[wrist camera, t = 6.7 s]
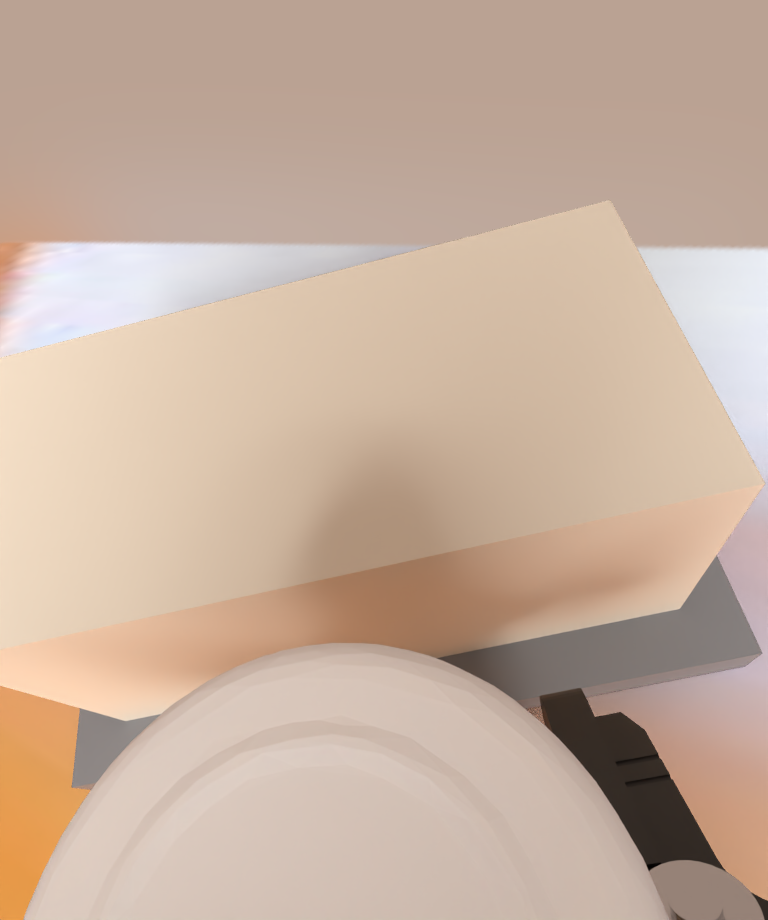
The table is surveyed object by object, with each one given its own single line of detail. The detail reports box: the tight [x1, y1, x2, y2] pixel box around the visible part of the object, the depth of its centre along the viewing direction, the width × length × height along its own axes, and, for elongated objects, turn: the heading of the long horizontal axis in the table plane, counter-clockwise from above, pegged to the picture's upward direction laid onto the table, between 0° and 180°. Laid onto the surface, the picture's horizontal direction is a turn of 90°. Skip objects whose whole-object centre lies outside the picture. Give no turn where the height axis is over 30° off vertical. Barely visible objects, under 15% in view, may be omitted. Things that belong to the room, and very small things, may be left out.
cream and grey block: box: [0, 200, 765, 790], centre depth 17 cm, size 19×11×9 cm, turn 99°
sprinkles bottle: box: [23, 643, 669, 920], centre depth 9 cm, size 5×5×14 cm
